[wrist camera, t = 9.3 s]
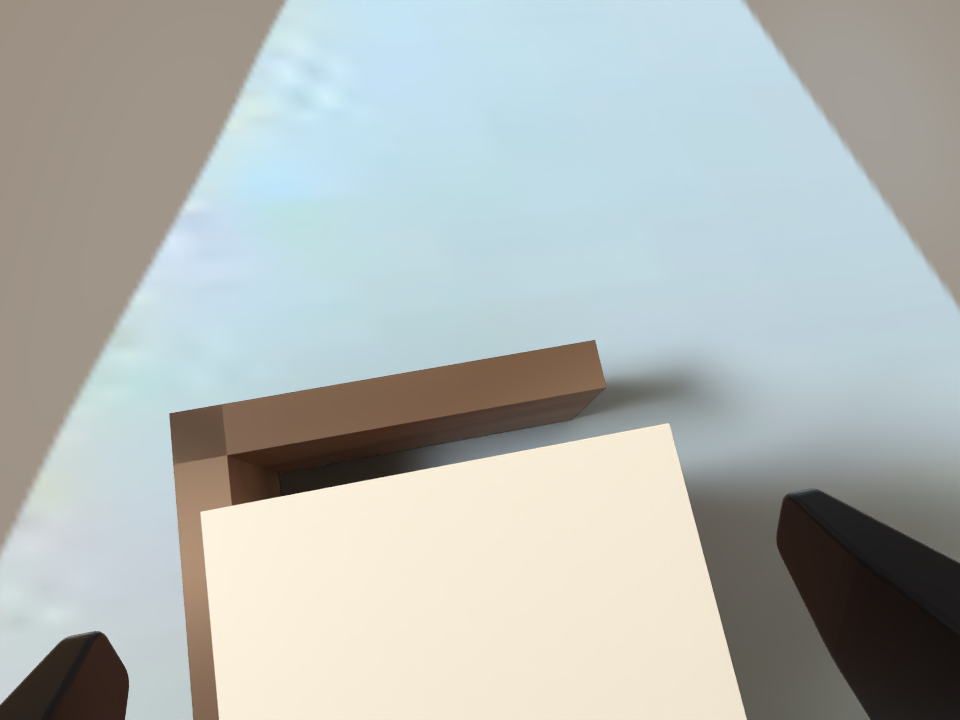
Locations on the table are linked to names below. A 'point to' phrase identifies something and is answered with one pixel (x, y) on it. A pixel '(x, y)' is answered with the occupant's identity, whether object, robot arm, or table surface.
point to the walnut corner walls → (350, 445)
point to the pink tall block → (474, 594)
